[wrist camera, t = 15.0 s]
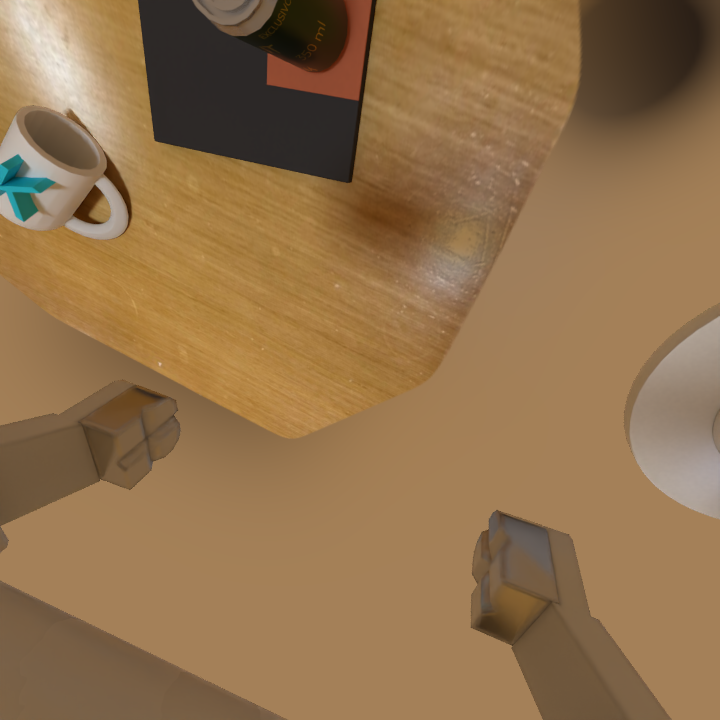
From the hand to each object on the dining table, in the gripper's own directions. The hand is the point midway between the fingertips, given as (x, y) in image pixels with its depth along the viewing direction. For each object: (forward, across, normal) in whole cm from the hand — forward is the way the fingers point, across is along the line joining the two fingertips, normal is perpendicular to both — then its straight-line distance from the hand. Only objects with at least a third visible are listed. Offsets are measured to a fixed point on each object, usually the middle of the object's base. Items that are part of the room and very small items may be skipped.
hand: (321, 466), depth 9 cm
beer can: (+28, +13, -13) cm, 33 cm away
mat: (+29, +19, -10) cm, 36 cm away
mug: (+29, +40, +4) cm, 50 cm away
